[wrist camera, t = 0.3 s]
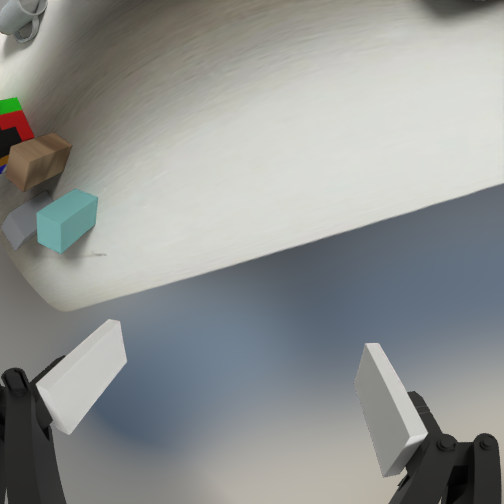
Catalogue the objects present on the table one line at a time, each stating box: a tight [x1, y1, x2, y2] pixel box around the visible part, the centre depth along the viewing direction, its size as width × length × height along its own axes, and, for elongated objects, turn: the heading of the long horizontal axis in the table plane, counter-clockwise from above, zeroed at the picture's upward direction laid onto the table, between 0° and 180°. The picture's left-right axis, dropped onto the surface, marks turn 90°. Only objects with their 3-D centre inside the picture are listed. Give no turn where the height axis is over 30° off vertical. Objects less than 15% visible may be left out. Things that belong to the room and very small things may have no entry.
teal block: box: [37, 189, 98, 254], centre depth 36 cm, size 5×5×10 cm
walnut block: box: [5, 133, 72, 192], centre depth 31 cm, size 5×5×10 cm
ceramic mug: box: [0, 0, 47, 43], centre depth 19 cm, size 11×8×8 cm
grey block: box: [1, 190, 53, 251], centre depth 36 cm, size 5×5×10 cm
